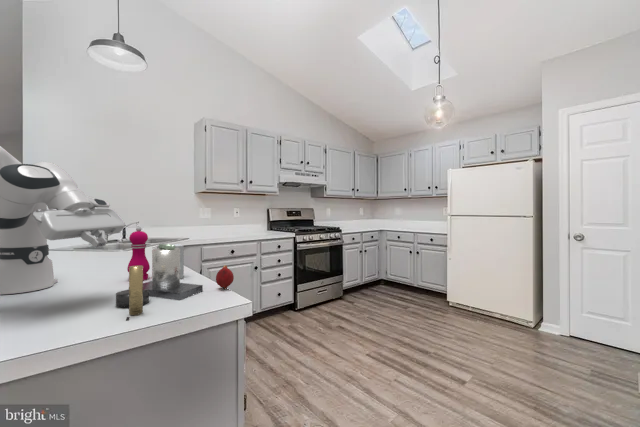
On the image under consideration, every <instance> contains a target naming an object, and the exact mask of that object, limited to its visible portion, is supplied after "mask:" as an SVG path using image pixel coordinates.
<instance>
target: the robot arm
mask: <svg viewBox="0 0 640 427" xmlns="http://www.w3.org/2000/svg"><path fill="white" fill-rule="evenodd" d="M110 206H111V205H110V202H108V200H104V199H99V198H96V197H92V196H90V195H87V194H85V193H84V192H83V191H82V190H81V189H79V188H78V184H77V183H76V181H75V180H74V178H72V177H71V175H70V174H68V173H67V171H65V170H64V169H63V168H62V167H61V166H60V165H57V164H55V163H54V162H49V161H39V162H35V163H33V164H32V163H31V164H28V163H23V162H21V161H20V160H19V159H17V158H16V157H15V156H13V155H12V154H11V153H9V152H8V151H7V150H6V149H5V148H4V147H2V146H1V145H0V296H1V295H13V294H22V293H23V294H24V293H28V292H35V291H38V290H44V289H47V288H48V289H49V288H50V287H52V286H54V284H56V283H59V281H58V278H55V274H54V266H53V260H52V259H51V258H50V257H49V254H50V249H49V248H50V247H49V244H48V240H49V241H57V240H67V239H77V238H80V239H81V240H82V241H85V242H87V243H89V244H90V245H91V246H92V247H93V248H97V247H104V246H106V245H107V244H108V240H107V239H106V235H113V234H120V233H121V232H122V231H123V230H124V228H125V226H126V223H125V221H124V219H123V218H122V217H121V216H120V215H119V213H118V212H117V211H116V210H115V209H113V208H111V207H110Z"/></svg>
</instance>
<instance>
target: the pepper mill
mask: <svg viewBox="0 0 640 427" xmlns="http://www.w3.org/2000/svg"><path fill="white" fill-rule="evenodd" d="M128 238H129V239H128V240H129V242H130V243H131V244H130V246H131V247H130V248H131V250H132V253H131V255H132V256H131V258H130V261H129V262H128V265H127V268H126V269H127V272H128V273H129V267H130V266H136V265H142V266H143V282H145V281H147V280H149V273H148V272H149V271H150V270H151V266H150V263H149V260H148V258H147V256H146V248H147V243H146V242H147V241H148V240H149V235H148V234H147V233H146V232H145V231H142V228H141V227H140V226H137V227H136V228H135V231H133V232H132V233H130V235H129V236H128Z"/></svg>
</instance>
